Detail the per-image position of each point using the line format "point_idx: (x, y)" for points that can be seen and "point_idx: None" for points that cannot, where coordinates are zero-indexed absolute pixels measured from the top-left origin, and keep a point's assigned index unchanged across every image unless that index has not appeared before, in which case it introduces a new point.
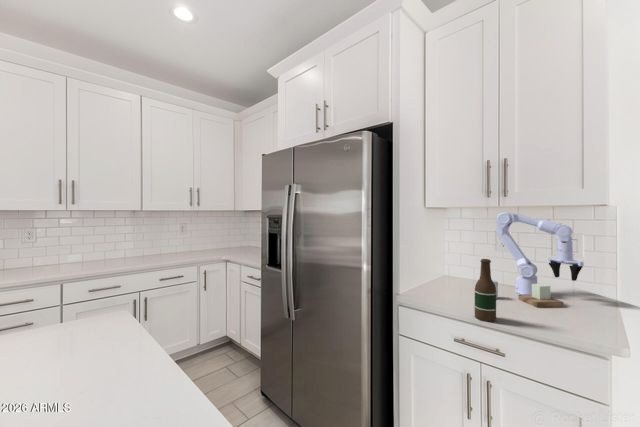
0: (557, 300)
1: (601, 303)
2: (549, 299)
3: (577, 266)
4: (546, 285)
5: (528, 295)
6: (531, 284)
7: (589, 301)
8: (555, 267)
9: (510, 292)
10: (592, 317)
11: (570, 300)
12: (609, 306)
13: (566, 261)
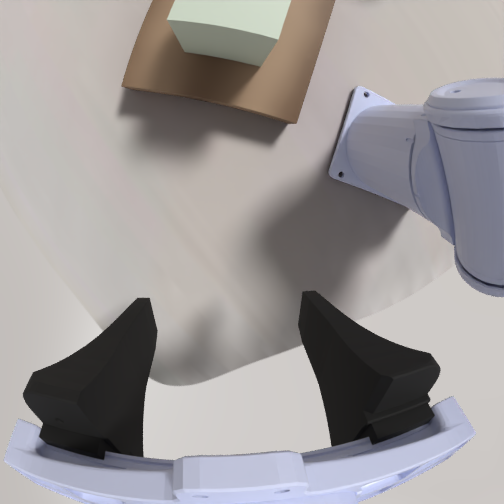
0: (152, 74)
1: None
2: None
3: (37, 414)
4: (200, 10)
5: (304, 12)
6: (392, 120)
7: (181, 319)
8: (345, 369)
9: None
10: (16, 101)
11: (216, 255)
12: (110, 318)
13: (127, 484)
